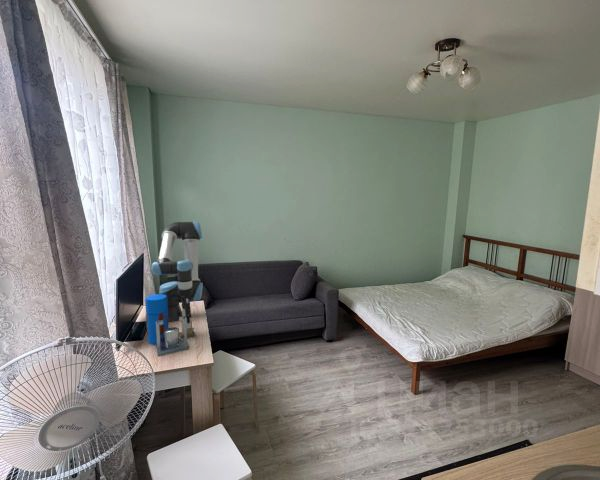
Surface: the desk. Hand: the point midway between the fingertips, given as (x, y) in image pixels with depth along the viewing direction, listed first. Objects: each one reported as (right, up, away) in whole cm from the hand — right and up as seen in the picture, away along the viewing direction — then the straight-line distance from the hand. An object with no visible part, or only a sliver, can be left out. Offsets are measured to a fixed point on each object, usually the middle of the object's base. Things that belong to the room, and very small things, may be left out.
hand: (186, 323), depth 175 cm
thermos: (-14, -8, -5) cm, 17 cm away
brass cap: (0, -6, +1) cm, 6 cm away
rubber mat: (0, -7, +1) cm, 7 cm away
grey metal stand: (-2, -9, -14) cm, 17 cm away
